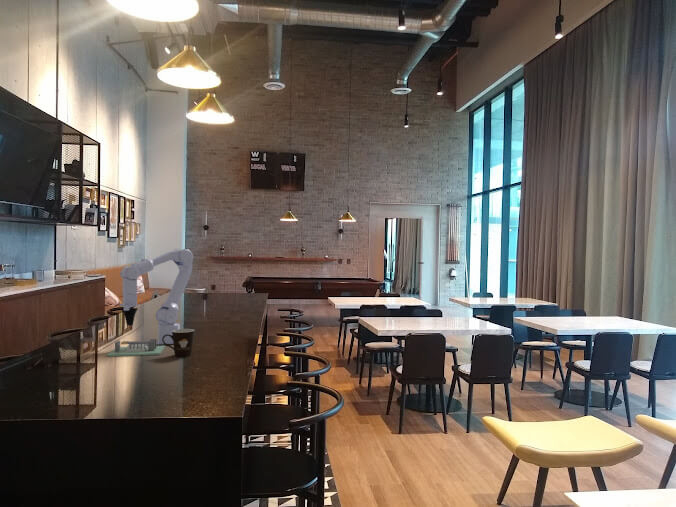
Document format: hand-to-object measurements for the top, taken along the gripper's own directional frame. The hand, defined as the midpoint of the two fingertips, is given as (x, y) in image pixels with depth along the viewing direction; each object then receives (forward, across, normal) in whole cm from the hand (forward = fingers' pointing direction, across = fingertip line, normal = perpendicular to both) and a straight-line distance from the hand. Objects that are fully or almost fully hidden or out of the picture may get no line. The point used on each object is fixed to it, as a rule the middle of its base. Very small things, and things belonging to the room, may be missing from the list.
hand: (129, 325), depth 206 cm
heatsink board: (+10, +9, +4) cm, 14 cm away
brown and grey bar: (+7, +9, +5) cm, 12 cm away
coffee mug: (+10, +18, +22) cm, 30 cm away
